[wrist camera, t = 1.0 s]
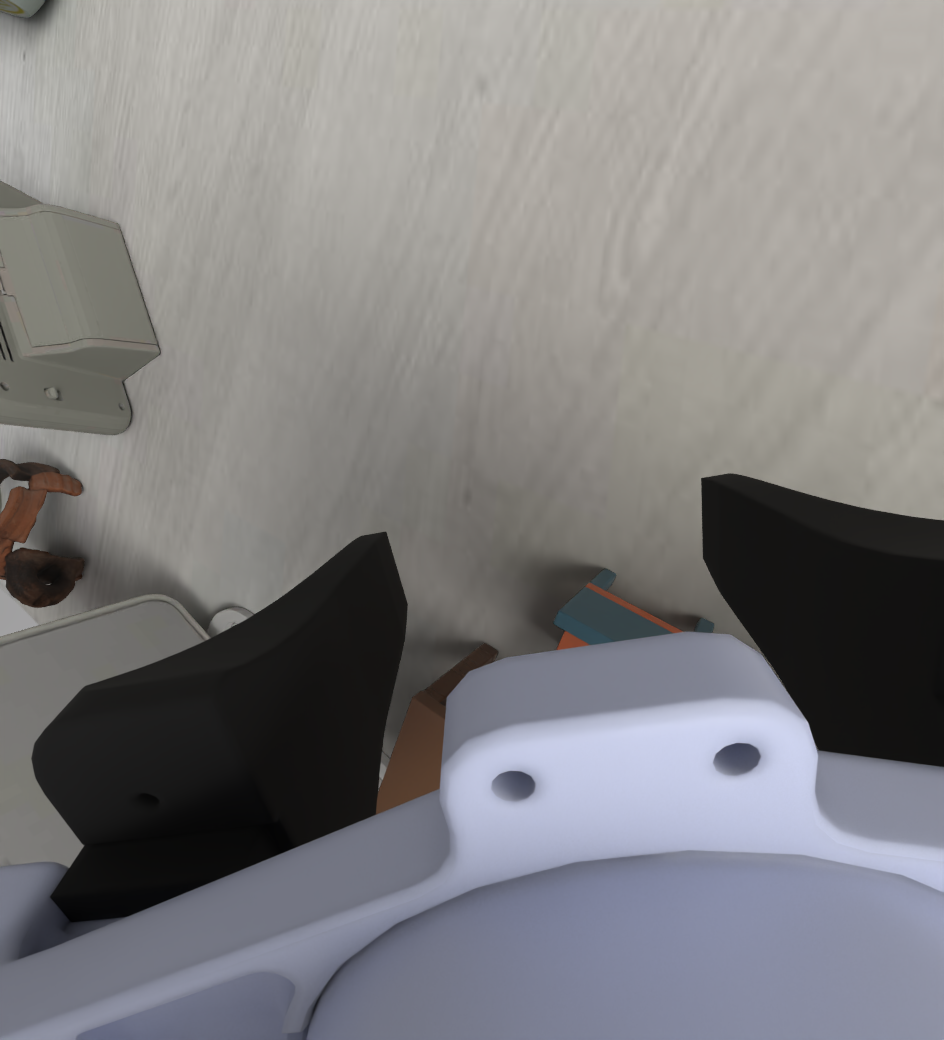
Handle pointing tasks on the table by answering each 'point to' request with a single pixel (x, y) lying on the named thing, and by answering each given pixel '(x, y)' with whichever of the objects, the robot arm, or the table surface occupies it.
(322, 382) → the table surface
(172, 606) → the network device
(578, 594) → the chair
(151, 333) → the digital clock
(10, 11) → the air freshener
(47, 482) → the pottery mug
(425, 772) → the desk
